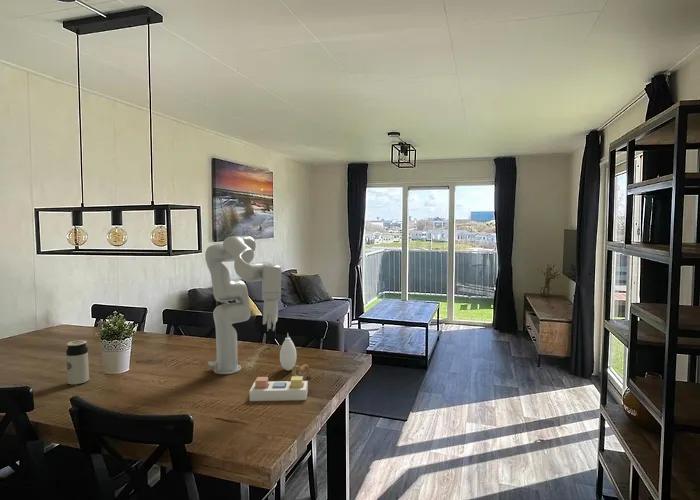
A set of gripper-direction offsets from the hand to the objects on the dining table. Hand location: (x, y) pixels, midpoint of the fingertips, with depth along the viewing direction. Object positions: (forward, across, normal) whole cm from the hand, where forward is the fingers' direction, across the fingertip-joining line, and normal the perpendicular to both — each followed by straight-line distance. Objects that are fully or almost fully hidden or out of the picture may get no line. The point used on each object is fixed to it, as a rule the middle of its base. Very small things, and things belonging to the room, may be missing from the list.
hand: (271, 339), depth 176 cm
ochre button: (+19, +4, +11) cm, 22 cm away
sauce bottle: (+23, -27, +4) cm, 36 cm away
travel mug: (+25, -15, -87) cm, 92 cm away
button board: (+22, +4, +4) cm, 22 cm away
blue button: (+21, +4, +4) cm, 22 cm away
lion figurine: (+22, -11, +12) cm, 28 cm away
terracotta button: (+19, +4, -3) cm, 20 cm away
